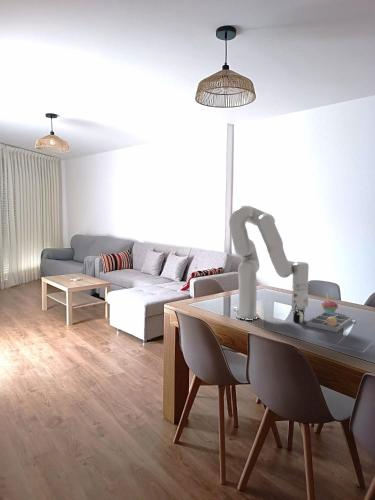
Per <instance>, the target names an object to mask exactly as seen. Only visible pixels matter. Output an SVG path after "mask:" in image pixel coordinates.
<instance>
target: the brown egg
mask: <svg viewBox="0 0 375 500" xmlns="http://www.w3.org/2000/svg"><path fill="white" fill-rule="evenodd" d="M327 326H332V327H337V320H336V318H335V317H332V316H331V317H328V319H327Z"/></svg>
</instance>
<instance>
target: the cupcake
mask: <svg viewBox="0 0 375 500" xmlns="http://www.w3.org/2000/svg"><path fill="white" fill-rule="evenodd" d="M321 308H322V309H323V312H327V313H332V314H336V313H335V312H336V310H338V309H339V305H338V303H336V302H335V301H333V300H332V301H331V300H329V294H328V293H326V301H323V302H322V303H321Z"/></svg>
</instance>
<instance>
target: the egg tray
mask: <svg viewBox="0 0 375 500" xmlns="http://www.w3.org/2000/svg"><path fill="white" fill-rule="evenodd" d="M331 316H332V317H335V318H336V320H337V327H332V326H327V319H328V317H331ZM352 322H353V317H352V316H349V315H348V316H347V315H342V314H338V313H337V314H336V313H334V314H332V313H327V312H324V311H323V312H321V313H320V314H318V315H316V316H315V317H314V316H313V318H310V319H309V320H307V321H306V327H311V328H316V329H319V330H325V331H331V332H334V333H338V332H339V331H341V330H342V329H343V328H345V327H346V326H347V325H350V323H352Z"/></svg>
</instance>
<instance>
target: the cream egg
mask: <svg viewBox="0 0 375 500" xmlns="http://www.w3.org/2000/svg"><path fill="white" fill-rule="evenodd" d="M296 311H297V312H298V310H296ZM299 315H300V322H299V323H304V320H303V313H302V312H301V311H300V312H299ZM299 323H298V324H299Z"/></svg>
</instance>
